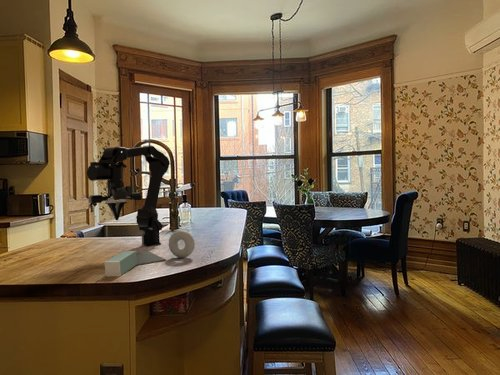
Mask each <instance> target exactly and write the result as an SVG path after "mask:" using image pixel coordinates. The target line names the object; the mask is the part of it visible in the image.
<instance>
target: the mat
mask: <svg viewBox="0 0 500 375" xmlns="http://www.w3.org/2000/svg"><path fill="white" fill-rule="evenodd" d="M114 256H115V255H114ZM114 256H113V255H112V257H114ZM136 256H137V265H135V266H142V265H147V264H155V263H160V262H165V261H166V260H167V259H165V258H164V257H162V256H159V255H158V254H155V253H153V252H151V251H148V250H145V251H141V252H136ZM135 266H134V267H135Z"/></svg>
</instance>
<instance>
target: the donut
mask: <svg viewBox="0 0 500 375" xmlns="http://www.w3.org/2000/svg"><path fill="white" fill-rule="evenodd" d="M180 240H182V241H184V242H183V243H184V247H183V248H181V247H180V246H179V241H180ZM195 246H196V245H195V239H194V237H193V235H192V234H191V233H190V232H189V231H188V230H187V231H186V230H183V229H181V230H176V231H174V232H173V233H172V234H171V235H170V237H169V239H168V248H169V251H170V252H171V253H172V254H173V256H174V257H176V258H180V259H182V258H183V259H185V258H188V257H189V256H191V255H192V254H193V252H194V250H195Z"/></svg>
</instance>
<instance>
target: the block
mask: <svg viewBox="0 0 500 375" xmlns="http://www.w3.org/2000/svg"><path fill="white" fill-rule="evenodd" d="M136 253H137V250H123V251H121V252H119V253H118V254H116V255H114V257H113V256H111V257H110V258H109V259H107V260H106V261H104V271H105V272H104V273H105V277H121V276H122V275H124V274H126V273H127V272H129V271H130V270H131V269H133V268H134V267H135V265H137V256H136ZM137 266H138V265H137Z"/></svg>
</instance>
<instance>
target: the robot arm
mask: <svg viewBox="0 0 500 375" xmlns="http://www.w3.org/2000/svg"><path fill="white" fill-rule="evenodd" d="M141 156H144V159H145V161H146V162H147V164H149V165H148V169H149V172H150V178H149V182H148V188H147V191H146V195H145V202H144V206H142V207H141V208H138V209H137V214H136V216H135V219H136V224H137V226H138V228H139V231H141V232H142V234H141V245H142V246H145V247H151V246H158V245H162V243H161V242H160V231H162V230H163V226H164V225H163V223H161V221H159V213H158V211H157V204H158V198H159V194H160V190H161V186H162V180H163V177H164V176H165V175H166V173H168V170H169V167H170V160H169V158H168V157H167V156H166V155H165V154H164V153H163V152H162V151H160V150H158V149H157V148H156V147H155V146H153V145H152V144H151V145H150V144H149V145H143V146H137V147H135V146H134V147H129V148H127V147H123V146H114V147H113V146H111V147H106V148H104V150H103V152H102V155H101V156H100V159H99V160H98V162H97V161H90V163H89V164H90V165H89V166H88V168H87V170H86V176H87V179H89V181H92V182H93V181H94V182H95V181H96V182H97V181H106V187H107V194H106V195H105V196H104V195H102V194H92V195H89V196H88V203H89V204H101V203H102V202H104V204H105V205H107V206H108V208H109V209H110V211H111V214H112V216H113V218H114V219H115V221H119V218H120V215H121V213H122V209H123V207H124V206H125V204H128V201H127V200H130V201H131V200H133V201H143V195H142V194H141V192H133V187H132V186H131V185H127V186H125V183H124V180H123V179H124V177H123V169H124V168H128V167H127V165H126V164H125V163H124V162H123V161H126V160H128V159H129V158H134V157H135V158H136V157H141Z"/></svg>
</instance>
